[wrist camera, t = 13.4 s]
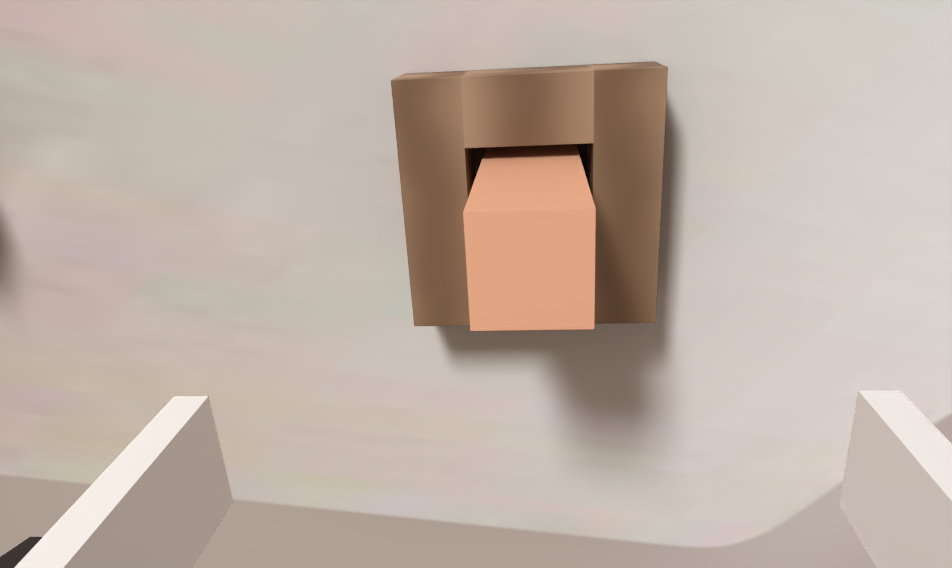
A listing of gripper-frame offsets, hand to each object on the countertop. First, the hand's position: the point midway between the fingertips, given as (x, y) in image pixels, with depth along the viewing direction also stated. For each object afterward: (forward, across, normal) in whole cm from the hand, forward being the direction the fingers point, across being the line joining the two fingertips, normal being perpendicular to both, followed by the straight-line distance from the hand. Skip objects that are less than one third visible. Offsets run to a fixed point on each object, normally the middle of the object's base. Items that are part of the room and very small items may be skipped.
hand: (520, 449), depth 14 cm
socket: (+23, 0, 0) cm, 23 cm away
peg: (+23, 0, 0) cm, 23 cm away
